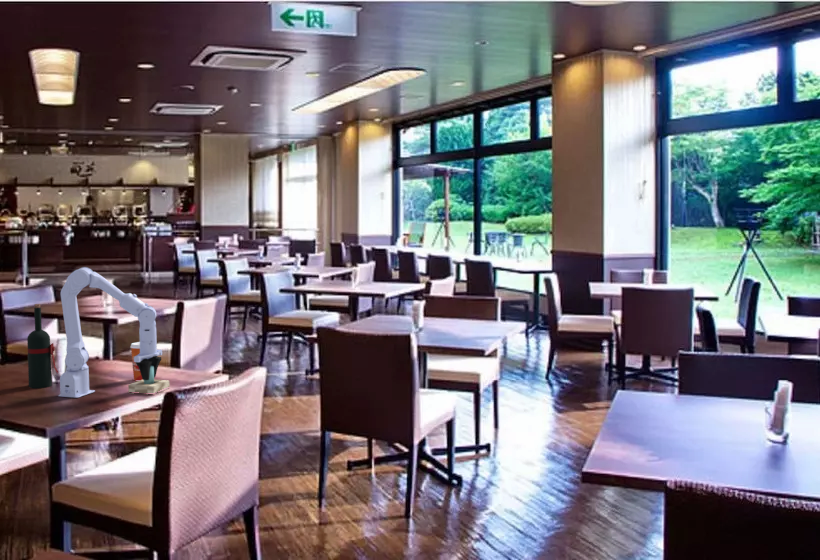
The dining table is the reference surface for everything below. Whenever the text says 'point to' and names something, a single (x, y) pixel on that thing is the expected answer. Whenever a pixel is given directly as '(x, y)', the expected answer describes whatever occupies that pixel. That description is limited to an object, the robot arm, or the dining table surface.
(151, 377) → the peg
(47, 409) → the dining table surface
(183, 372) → the dining table surface
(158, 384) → the socket block
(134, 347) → the paper cup
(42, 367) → the wine bottle
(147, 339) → the robot arm
